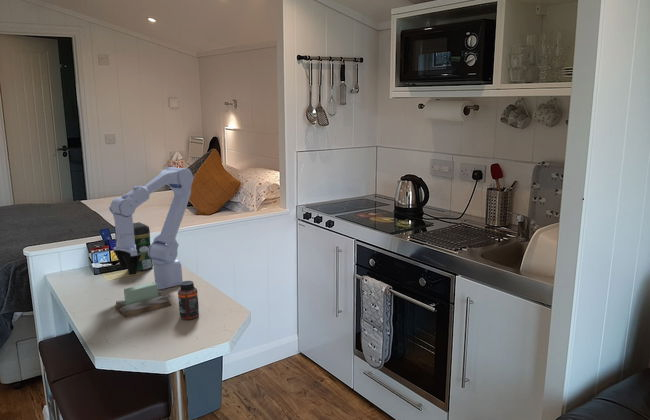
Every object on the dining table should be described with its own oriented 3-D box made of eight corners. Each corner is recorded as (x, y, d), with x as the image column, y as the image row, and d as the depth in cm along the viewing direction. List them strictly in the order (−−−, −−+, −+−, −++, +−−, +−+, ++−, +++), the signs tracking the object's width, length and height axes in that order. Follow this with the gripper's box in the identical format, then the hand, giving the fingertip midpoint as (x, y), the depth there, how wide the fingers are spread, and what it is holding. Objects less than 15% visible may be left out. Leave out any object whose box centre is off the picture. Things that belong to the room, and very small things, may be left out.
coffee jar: (128, 266, 216) (124, 223, 212) (147, 263, 220) (143, 220, 216) (135, 272, 208) (131, 227, 204) (155, 268, 213) (151, 224, 209)
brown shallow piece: (159, 296, 182) (158, 289, 182) (171, 305, 175) (170, 297, 174) (115, 308, 173) (114, 300, 173) (125, 317, 166) (124, 309, 165)
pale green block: (155, 298, 178) (153, 282, 177) (158, 301, 176) (157, 284, 174) (125, 306, 172) (123, 289, 170) (128, 309, 169) (126, 291, 168)
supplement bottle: (203, 314, 167) (200, 280, 165) (192, 321, 162) (189, 286, 159) (186, 311, 169) (184, 278, 167) (176, 319, 164) (173, 284, 161)
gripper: (105, 231, 180) (110, 269, 183) (120, 239, 169) (124, 279, 172) (126, 227, 185) (130, 264, 188) (141, 235, 174) (145, 274, 177)
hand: (128, 271), depth 180 cm, fingers open, 7 cm apart
